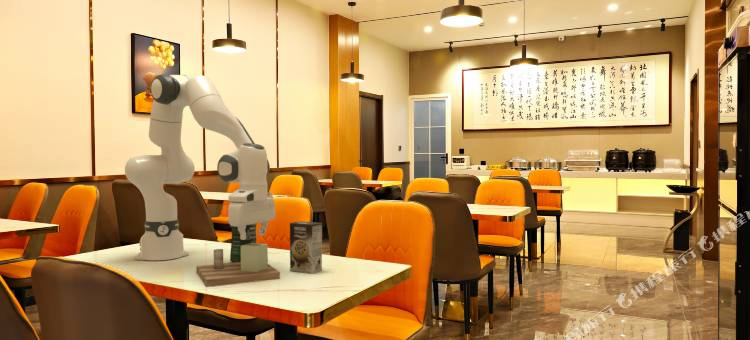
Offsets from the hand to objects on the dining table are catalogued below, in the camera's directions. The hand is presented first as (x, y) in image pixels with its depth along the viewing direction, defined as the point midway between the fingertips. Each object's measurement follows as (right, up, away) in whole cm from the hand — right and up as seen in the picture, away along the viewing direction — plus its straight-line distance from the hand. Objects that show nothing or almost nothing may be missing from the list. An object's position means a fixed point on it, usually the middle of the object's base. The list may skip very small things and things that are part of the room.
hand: (253, 237), depth 168 cm
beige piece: (0, -10, 0) cm, 10 cm away
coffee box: (+16, -12, +7) cm, 21 cm away
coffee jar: (-8, -12, +22) cm, 27 cm away
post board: (-5, -12, 0) cm, 13 cm away
